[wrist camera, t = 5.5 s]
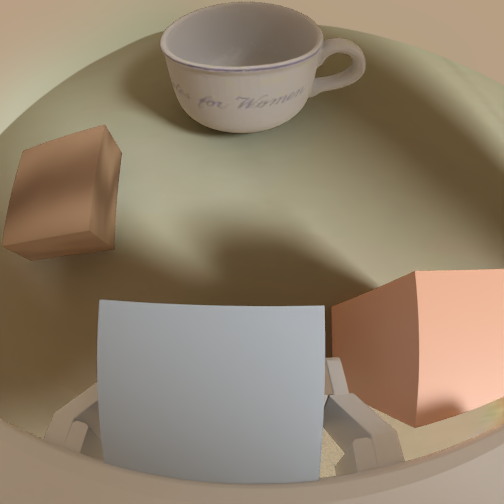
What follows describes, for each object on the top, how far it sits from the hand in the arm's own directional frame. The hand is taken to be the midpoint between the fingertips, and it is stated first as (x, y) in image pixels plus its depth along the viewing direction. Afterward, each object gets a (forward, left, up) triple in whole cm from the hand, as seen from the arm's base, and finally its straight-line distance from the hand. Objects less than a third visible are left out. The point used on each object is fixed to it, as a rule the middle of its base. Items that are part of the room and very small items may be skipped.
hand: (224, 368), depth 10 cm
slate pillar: (0, +1, -5) cm, 5 cm away
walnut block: (+5, -16, -8) cm, 18 cm away
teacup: (-12, -15, -7) cm, 20 cm away
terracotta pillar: (-7, +4, -7) cm, 11 cm away
